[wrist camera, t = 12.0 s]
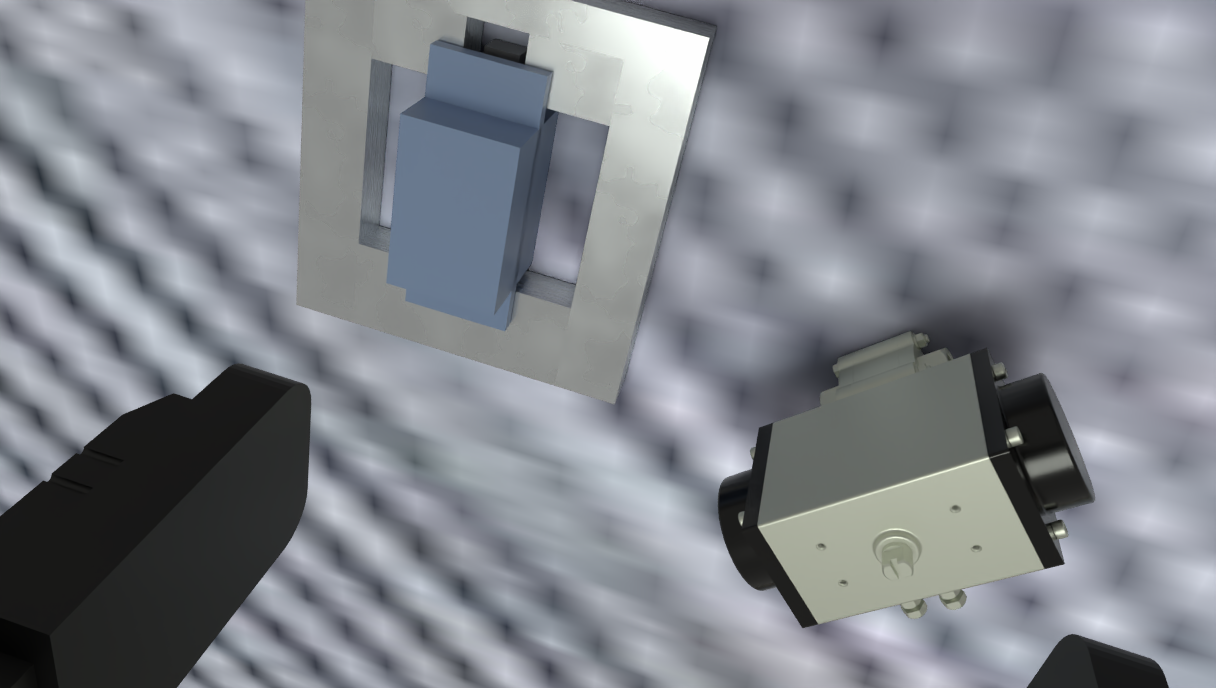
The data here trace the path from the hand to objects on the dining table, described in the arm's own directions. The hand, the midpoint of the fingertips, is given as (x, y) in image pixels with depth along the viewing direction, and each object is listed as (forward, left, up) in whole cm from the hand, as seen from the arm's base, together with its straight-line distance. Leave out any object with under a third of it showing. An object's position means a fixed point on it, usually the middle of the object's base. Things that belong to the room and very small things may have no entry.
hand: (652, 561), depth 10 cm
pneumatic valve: (+13, +8, -28) cm, 32 cm away
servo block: (+9, -10, -28) cm, 31 cm away
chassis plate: (+9, -10, -28) cm, 31 cm away
